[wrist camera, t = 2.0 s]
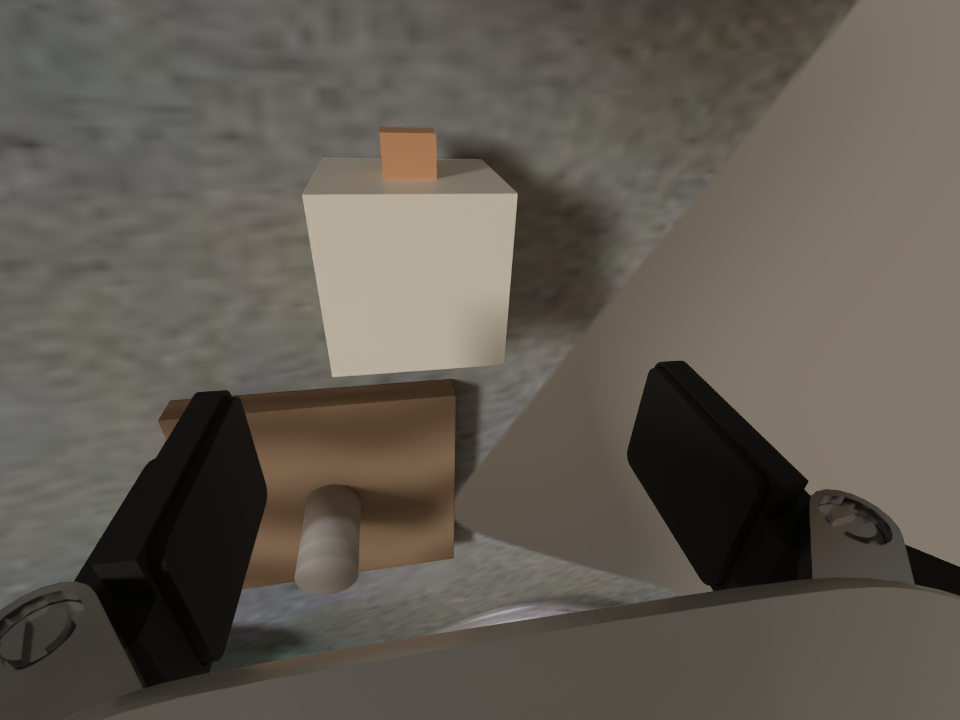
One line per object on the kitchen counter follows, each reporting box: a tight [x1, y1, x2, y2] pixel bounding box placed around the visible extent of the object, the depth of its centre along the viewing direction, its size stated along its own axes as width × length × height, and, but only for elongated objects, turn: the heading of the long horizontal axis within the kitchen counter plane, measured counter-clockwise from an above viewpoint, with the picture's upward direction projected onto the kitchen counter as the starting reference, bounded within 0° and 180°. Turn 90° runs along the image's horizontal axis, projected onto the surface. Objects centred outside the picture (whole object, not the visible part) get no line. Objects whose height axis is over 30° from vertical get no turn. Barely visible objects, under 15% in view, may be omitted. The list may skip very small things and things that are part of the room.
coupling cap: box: [302, 127, 518, 377], centre depth 18 cm, size 9×6×6 cm
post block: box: [158, 379, 456, 594], centre depth 25 cm, size 14×14×6 cm
